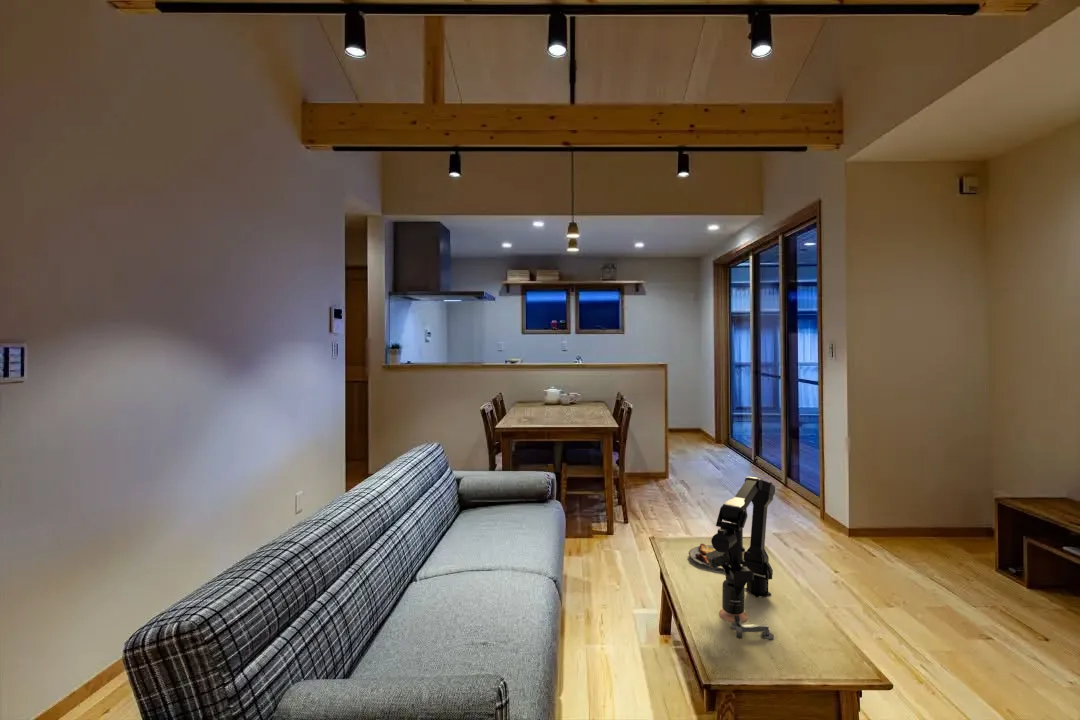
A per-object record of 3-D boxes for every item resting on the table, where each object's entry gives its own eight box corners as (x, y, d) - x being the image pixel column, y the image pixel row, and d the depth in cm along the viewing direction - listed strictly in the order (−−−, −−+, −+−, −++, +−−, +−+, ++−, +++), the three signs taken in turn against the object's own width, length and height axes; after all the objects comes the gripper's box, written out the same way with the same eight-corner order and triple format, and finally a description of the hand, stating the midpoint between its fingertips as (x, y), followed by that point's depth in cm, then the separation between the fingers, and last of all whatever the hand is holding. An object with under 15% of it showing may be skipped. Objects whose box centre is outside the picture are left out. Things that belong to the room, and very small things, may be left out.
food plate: (680, 563, 224) (680, 554, 223) (699, 545, 243) (700, 537, 243) (744, 579, 209) (745, 570, 209) (759, 559, 229) (760, 551, 228)
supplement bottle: (733, 617, 176) (733, 580, 176) (717, 608, 183) (717, 572, 182) (749, 612, 180) (749, 575, 179) (733, 603, 186) (732, 567, 185)
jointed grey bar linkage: (753, 621, 177) (753, 610, 177) (776, 639, 167) (776, 627, 167) (723, 626, 174) (723, 615, 174) (744, 644, 164) (744, 632, 164)
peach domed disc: (737, 607, 186) (737, 606, 186) (754, 620, 178) (754, 619, 178) (713, 611, 184) (713, 610, 184) (729, 624, 175) (729, 623, 175)
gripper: (699, 533, 189) (700, 578, 190) (718, 554, 171) (718, 604, 171) (732, 532, 189) (732, 577, 190) (754, 553, 171) (754, 603, 171)
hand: (733, 590), depth 181 cm, fingers closed on supplement bottle, 6 cm apart
